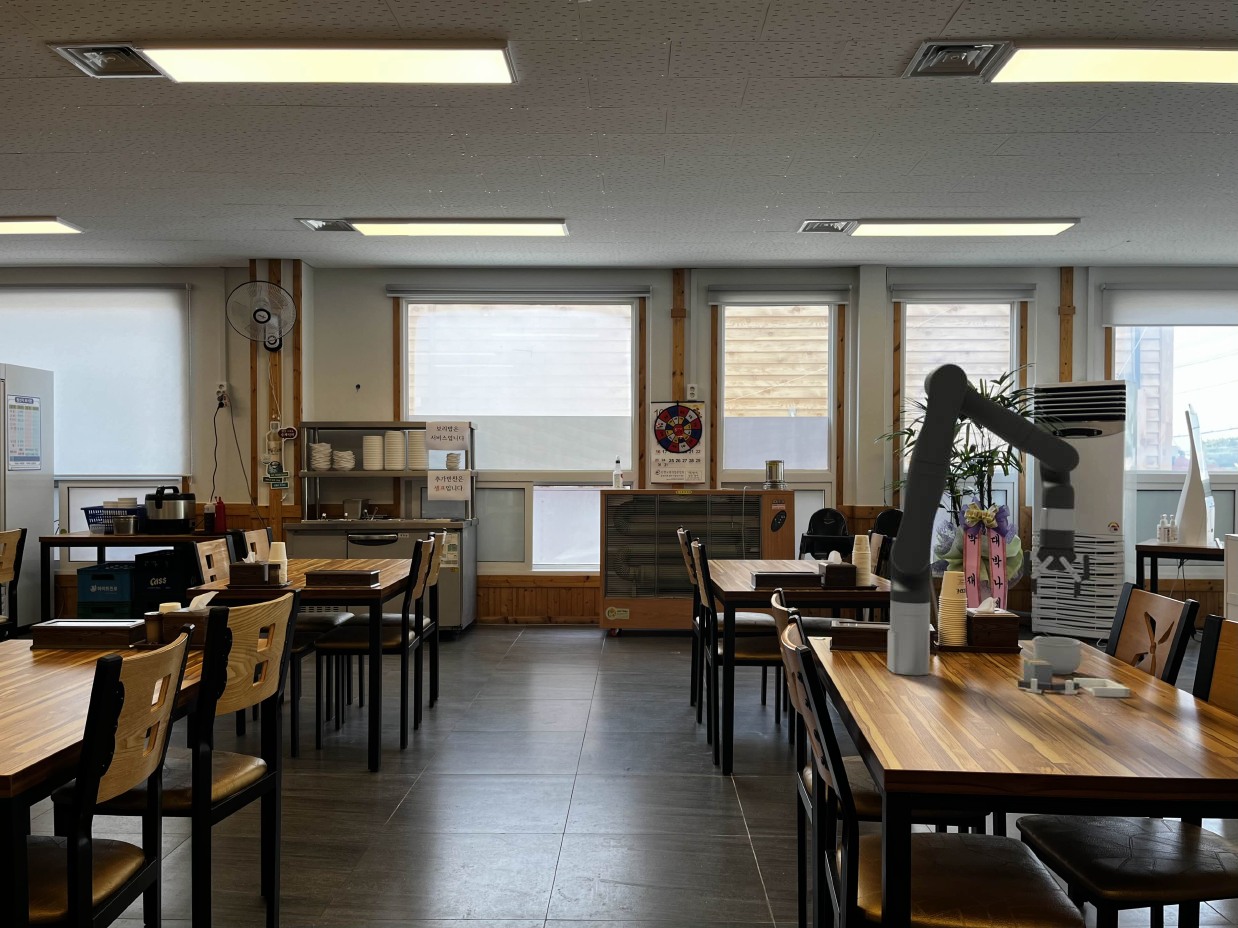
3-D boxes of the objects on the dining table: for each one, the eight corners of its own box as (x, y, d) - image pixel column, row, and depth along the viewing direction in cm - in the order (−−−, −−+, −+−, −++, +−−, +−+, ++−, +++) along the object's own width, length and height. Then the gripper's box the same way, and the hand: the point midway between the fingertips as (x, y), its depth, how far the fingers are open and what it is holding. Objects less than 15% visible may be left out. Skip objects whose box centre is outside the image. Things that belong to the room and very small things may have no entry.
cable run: (1023, 690, 201) (1023, 683, 201) (1015, 685, 205) (1015, 679, 205) (1083, 691, 200) (1083, 685, 200) (1074, 687, 205) (1074, 680, 205)
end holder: (1094, 696, 199) (1094, 687, 199) (1073, 685, 209) (1073, 677, 209) (1129, 696, 198) (1129, 688, 198) (1106, 686, 208) (1106, 678, 208)
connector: (1034, 686, 208) (1034, 663, 208) (1023, 680, 214) (1023, 658, 214) (1052, 686, 208) (1052, 664, 208) (1041, 680, 214) (1041, 659, 214)
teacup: (1089, 677, 218) (1089, 644, 219) (1043, 676, 219) (1044, 643, 219) (1062, 665, 232) (1062, 634, 232) (1019, 664, 233) (1019, 633, 233)
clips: (1029, 693, 200) (1029, 680, 200) (1019, 687, 206) (1019, 675, 206) (1079, 694, 200) (1079, 681, 200) (1067, 688, 205) (1067, 676, 205)
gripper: (1024, 526, 215) (1022, 595, 215) (1091, 530, 209) (1089, 600, 209) (1024, 525, 222) (1022, 591, 221) (1090, 528, 216) (1088, 597, 215)
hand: (1055, 596), depth 215 cm, fingers open, 8 cm apart
